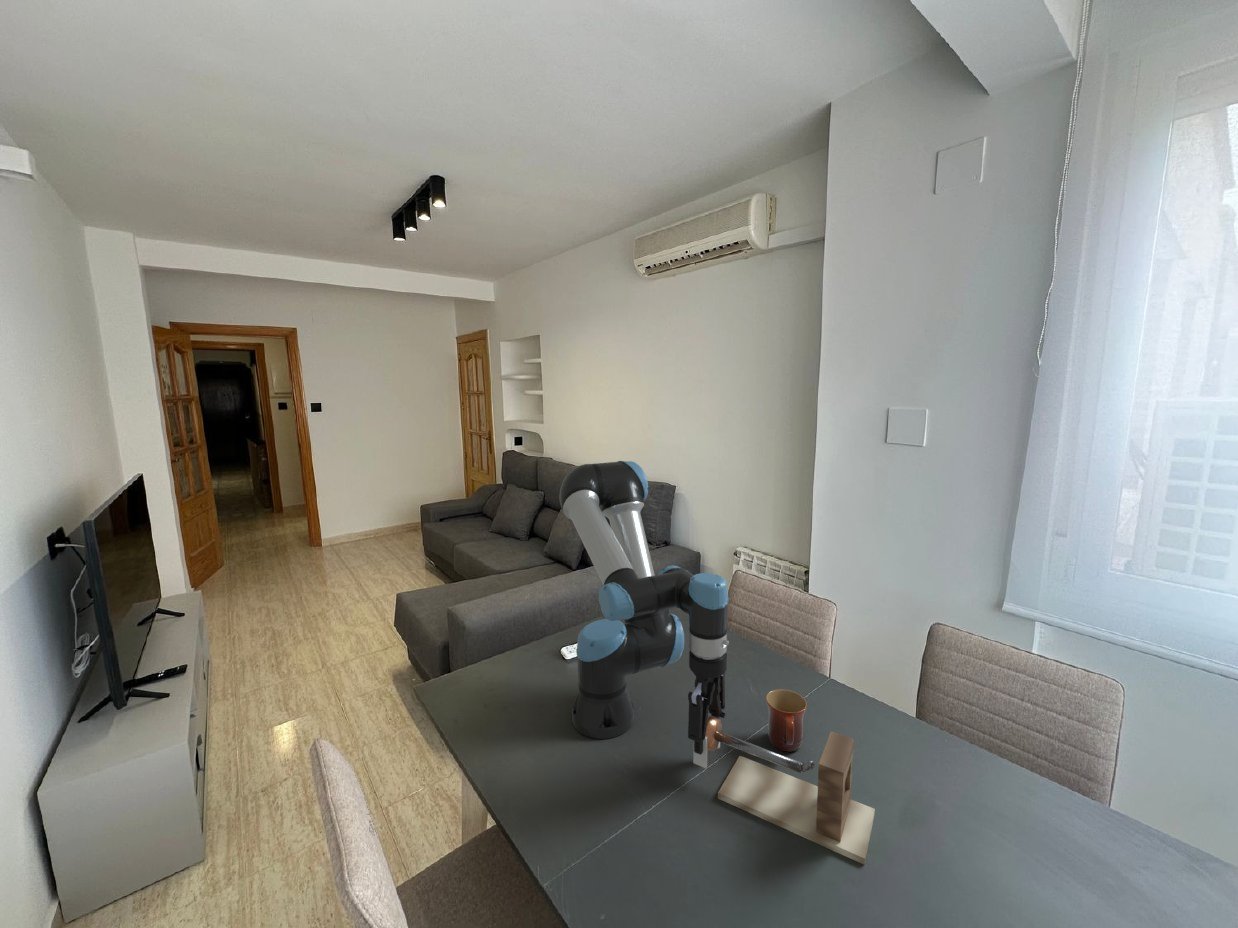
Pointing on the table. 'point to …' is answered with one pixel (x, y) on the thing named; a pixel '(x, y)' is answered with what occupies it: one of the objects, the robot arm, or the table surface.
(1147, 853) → the table surface
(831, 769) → the eye block
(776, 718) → the mug
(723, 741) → the copper and grey mallet
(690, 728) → the robot arm
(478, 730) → the table surface
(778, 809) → the board
